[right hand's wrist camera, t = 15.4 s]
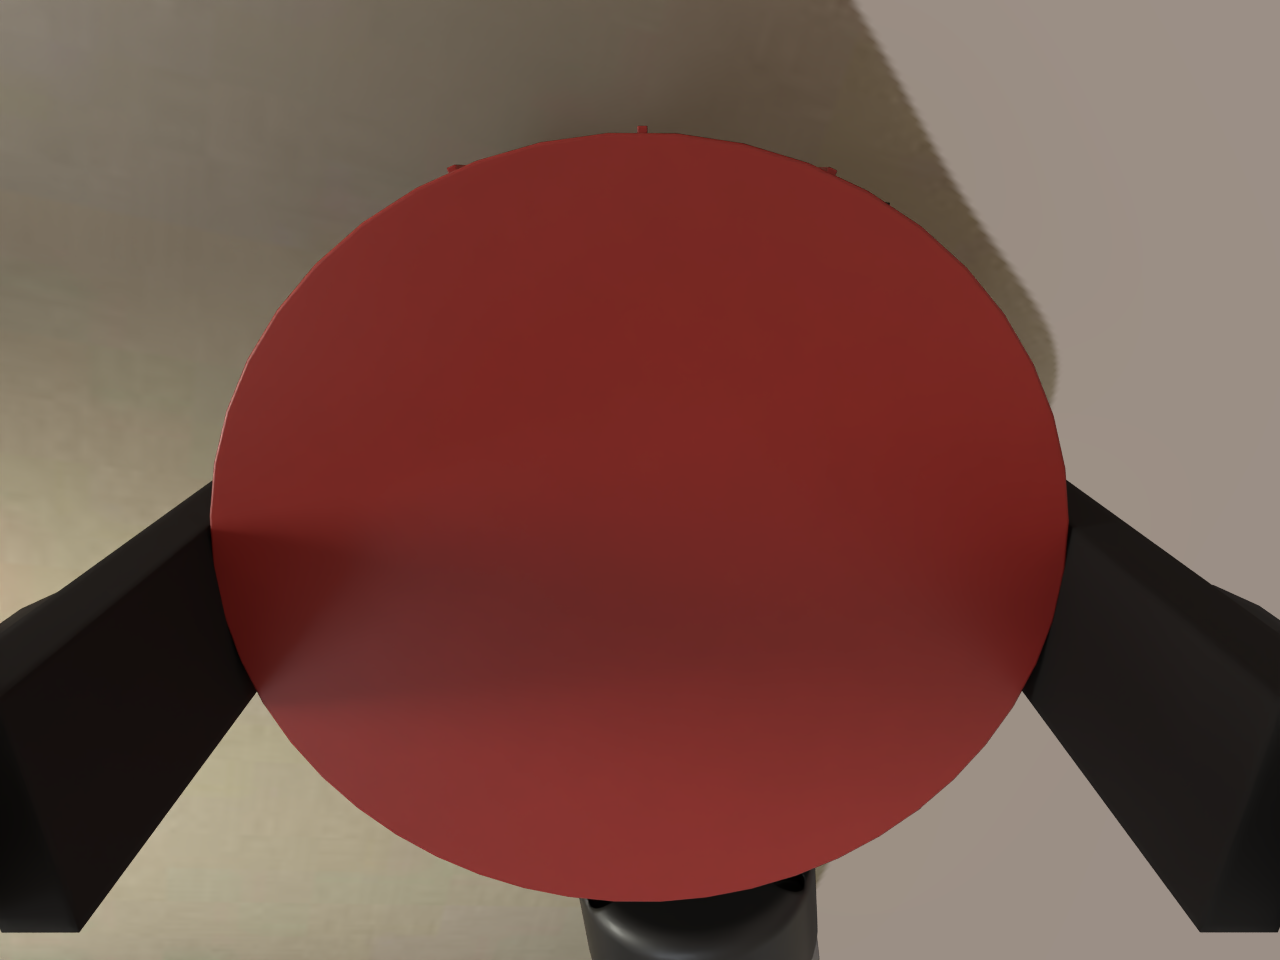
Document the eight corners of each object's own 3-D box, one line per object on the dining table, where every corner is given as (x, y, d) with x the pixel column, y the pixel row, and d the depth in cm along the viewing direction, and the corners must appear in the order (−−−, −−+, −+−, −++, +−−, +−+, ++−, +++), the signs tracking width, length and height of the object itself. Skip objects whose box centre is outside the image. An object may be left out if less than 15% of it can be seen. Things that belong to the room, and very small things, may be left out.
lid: (1012, 760, 13) (1067, 847, 12) (400, 852, 14) (367, 946, 12) (995, 55, 10) (1074, 29, 8) (151, 232, 10) (52, 245, 9)
